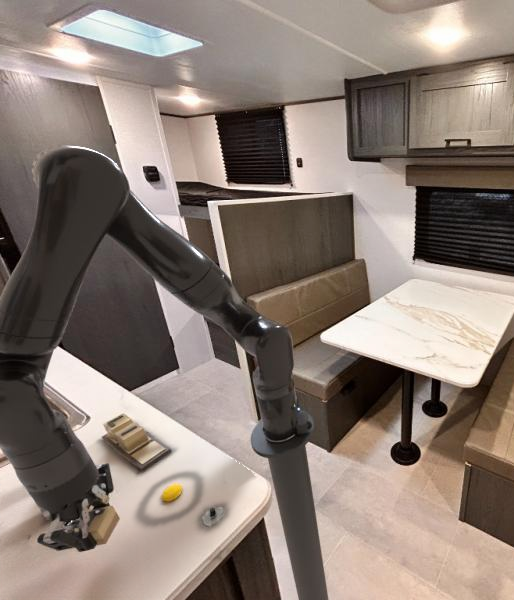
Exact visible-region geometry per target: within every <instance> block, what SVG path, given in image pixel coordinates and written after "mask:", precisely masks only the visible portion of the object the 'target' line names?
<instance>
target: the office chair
mask: <svg viewBox="0 0 514 600" xmlns="http://www.w3.org/2000/svg"><path fill="white" fill-rule="evenodd" d="M223 517H225V512H224V510H223V507H222V506H218V507H215V506H211V507H210V508H209V510H206V512H205V514H204V515H203V516H202V517H201V519H202V523H203V524H204V526H207V527H209V528H210V527H213V526H215V525H217V523H218V522H219V521H221V519H222V518H223Z"/></svg>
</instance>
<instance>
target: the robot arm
mask: <svg viewBox="0 0 514 600" xmlns="http://www.w3.org/2000/svg"><path fill="white" fill-rule="evenodd" d="M31 175H32V180H33V182H34V184H35V186H36V188H37V199H36V209H35V216H34V223H33V226H32V230H31V233H30V236H29V239H28V242H27V243H26V247H25V249H24V251H23V252H22V255H21V257H20V259H19V261H18V262H17V264H16V266H15V268H14V269H13V270H12V272H11V275H10V276H9V278H8V280H7V282H6V283H5V286H4V288H3V289H2V292H1V295H0V450H1V452H2V453H3V455H4V456H5V458H6V459H7V461H8V462H9V464H11V466H12V468H13V470H14V471H15V475H16V477H17V479H18V481H20V484H22V486H23V488H24V489H25V490H26V491H27V493H28V494H29V496H30V497H31V498H32V499H33V501H34V503H35V502H36V503H35V504H36V506H37V505H38V506H39V507H40V508H42V509H44V510H47V511H48V512H49V513H50V519H49V520H50V522H51V523H50V526H49V527H48V529H47V531H46V532H44V533H41V534H39V535H38V537H37V539H36V542H37V544H39V545H42V546H44V547H47V548H49V549H52V550H54V551H57V552H61V551H66V550H71V549H74V548H75V547H76V548H75V550H76V549H77V550H76V551H77V552H79V553H84V552H88V551H91V550H95V548H96V547H97V546H96V545H97V542H96V541H95V539H94V538H93V536H92V535H91V533H90V532H89V530H88V525H87V522H88V521H89V520H90V518H89V513H88V510H90V508H92V509H97V508H102V507H107V506H111V504H110V494H112V493H113V492H114V491H115V490H114V489H115V486H114V482H113V477H112V473H111V467H110V464H109V463H102V464H96V463H95V462H94V460H93V459H92V456H91V455H90V453H89V452H88V449H87V448H86V445H84V443H83V442H82V440H80V439H79V437H78V436H77V435H76V433H75V432H74V430H73V428H72V426H71V424H70V422H69V421H68V419H67V418H66V417H65V416H64V414H63V413H62V412H60V411H59V410H57V409H53V408H52V406H51V404H50V403H49V401H48V399H47V397H46V395H45V391H44V390H45V382H46V376H47V372H48V369H49V366H50V364H51V363H50V362H51V360H52V358H53V357H52V356H53V354H54V351H55V350H56V349H57V348H58V347H59V345H60V343H61V342H62V340H63V337H64V335H65V333H66V330H67V327H68V325H69V322H70V320H71V316H72V314H73V311H74V308H75V306H76V303H77V301H78V297H79V294H80V291H81V288H82V285H83V283H84V280H85V277H86V275H87V272H88V270H89V267H90V265H91V263H92V261H93V259H94V257H95V254H96V253H97V251H98V249H99V247H100V245H101V243H102V242H103V240H104V238H105V236H106V237H108V238H109V239H111V241H113V242H115V243H116V244H117V245H118V246H119V247H121V249H123V250H124V251H125V252H126V253H127V254H128V255H129V256H130V258H132V260H134V261H135V262H136V263H137V265H139V266H140V267H141V268H142V270H144V271H145V272H146V274H148V275H149V276H150V277H151V278H152V279H153V280H154V281H155V282H157V283H158V284H159V285H160V286H161V287H162V288H163V289H164V290H165V291H167V292H168V293H170V294H171V295H173V296H174V297H175V298H176V299H178V300H179V301H180V302H181V303H182V304H183V305H186V306H187V307H188V308H190V309H191V310H193V311H194V312H196V313H197V314H199V315H201V316H202V317H204V318H205V319H206V318H207V319H208V320H210V321H212V322H214V323H215V324H217V326H219V327H220V328H222V329H223V330H224V331H225V332H226V334H228V335H229V336H230V337H231V338H232V339H233V340H234V341H235V342H236V343H237V345H239V346H240V347H241V348H242V349H243V351H245V352H246V353H248V354H249V355H251V356H252V357H254V358H256V362H257V363H256V364H257V367H256V368H255V369H254V370H253V372H252V382H253V386H254V391H255V396H256V400H257V405H258V410H259V414H260V419H261V420H262V424H263V434H264V435H265V438H266V440H267V441H268V442H270V443H274V444H280V443H284V442H287V441H289V440H291V439H293V438H294V437H296V436H299V435H300V434H304V433H308V430H309V429H311V427H312V423H311V422H310V421H308V415H307V413H308V411H305V412H301V413H300V410H301V409H300V403H299V396H298V393H297V392H296V387H295V380H294V375H293V370H294V367H295V356H294V355H295V353H294V343H293V337H292V334H291V332H290V330H289V329H288V328H287V327H286V326H285V325H283V324H280V323H279V322H277V321H274V320H272V319H270V318H268V317H266V316H264V315H263V314H261V313H260V312H258V311H257V310H255V308H253V307H251V306H250V305H249V304H248V303H247V302H245V300H243V298H242V297H241V295H240V293H239V292H238V289H237V287H236V286H235V284H234V283H233V280H232V279H231V278H230V277H229V276H228V274H227V273H226V272H225V271H224V270H223V269H222V268H221V267H220V266H219V265H218V264H217V263H216V262H215V261H214V260H212V258H211V257H210V256H208V255H207V254H206V253H205V252H204V251H202V250H201V249H200V248H199V247H198V246H196V245H195V244H194V243H193V242H192V241H190V240H189V239H187V238H186V237H184V236H183V235H182V234H181V233H179V232H178V231H176V230H175V229H173V228H172V227H170V226H169V225H168V224H167V223H165V222H164V221H163V220H161V219H160V218H159V217H157V216H156V215H155V214H154V213H153V212H152V211H151V209H149V208H148V207H147V206H146V204H144V203H143V201H142V200H141V199H139V197H138V196H137V195H136V194H135V193H134V192H133V191H132V189H131V186H130V182H129V179H128V177H127V175H126V173H125V172H124V171H123V170H122V168H121V167H120V166H119V165H118V164H117V163H116V162H115V161H113V159H111V158H110V157H109V156H106V155H105V154H103V153H101V152H99V151H95V150H93V149H90V148H86V147H81V146H78V145H77V146H76V145H69V144H68V145H67V144H65V145H55V146H50V147H48V148H47V147H46V148H45V149H43V150H41V151H40V152H39V153H38V154H37V155H36V156H35V158H34V159H33V161H32V166H31ZM261 420H260V421H261ZM308 425H309V426H308ZM101 484H104V485H105V486H103V487H102V486H101ZM38 506H37V507H38ZM39 507H38V508H39ZM79 518H80V519H79ZM75 528H78V529H79V531H78V532H75Z"/></svg>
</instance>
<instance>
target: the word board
mask: <svg viewBox="0 0 514 600" xmlns="http://www.w3.org/2000/svg"><path fill="white" fill-rule="evenodd" d="M145 432H146V435H147V437H148V440H147V441H145V442H144V443H142V444H141V445H139V446H137V447H136V448H134V449H133V450H131V451H129V452H128V451H127V450H125V449H124V448H123V447H121V446H120V445H119V443H118V441H117V442H116V441H115V440H114V439H113V438H111V437H110V436H109V435H108V434H107V433H105V434H104V435H102V436H101V439H102V441H104V442H105V443H106V444H108V445H109V446H110V447H111V448H112V449H114V450H115V451H116V452H118V453H119V454H120V456H123V457H124V459H126V460H127V461H129V462H130V463H131V464H132V465H134V466H135V467H136V468H138V469H139V470H140V471H141V472H144V471H146V470H147V469H148V468H150V467H152V466H153V465H154V464H155V463H157V462H159V461H160V460H161V459H163V458H164V457H166V456H167V455H168V454H170V453H172V448H171V447H170V446H168V445H167V444H165V443H163V442H162V441H161V440H159V439H158V438H156V437H155V436H153V435H152V434H150V433H149V432H147V431H146V430H145Z"/></svg>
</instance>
